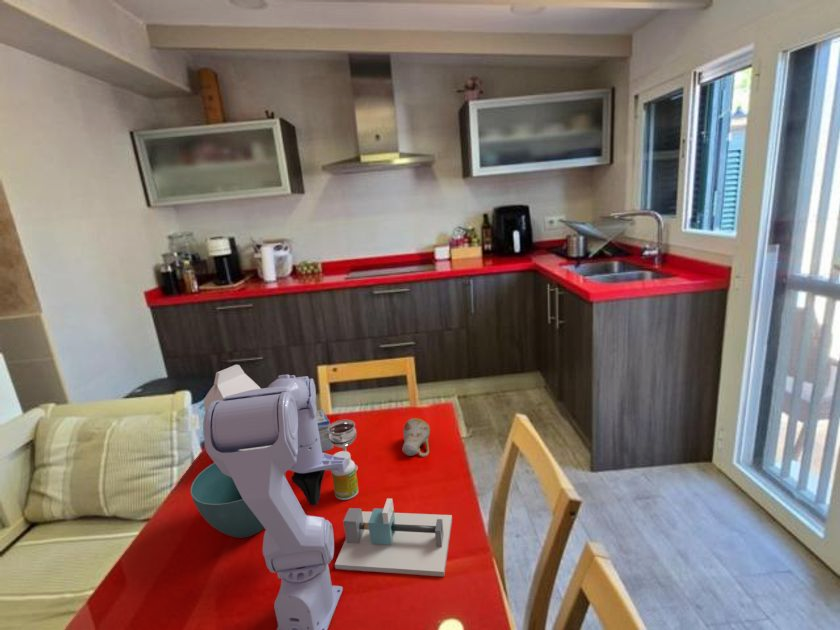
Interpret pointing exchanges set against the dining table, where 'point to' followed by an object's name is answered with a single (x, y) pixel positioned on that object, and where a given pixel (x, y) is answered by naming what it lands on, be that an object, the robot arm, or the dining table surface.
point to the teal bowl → (223, 504)
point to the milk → (230, 387)
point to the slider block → (382, 524)
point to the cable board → (397, 544)
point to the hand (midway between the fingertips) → (315, 501)
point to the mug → (415, 437)
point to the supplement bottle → (345, 479)
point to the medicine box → (323, 430)
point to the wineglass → (342, 434)
